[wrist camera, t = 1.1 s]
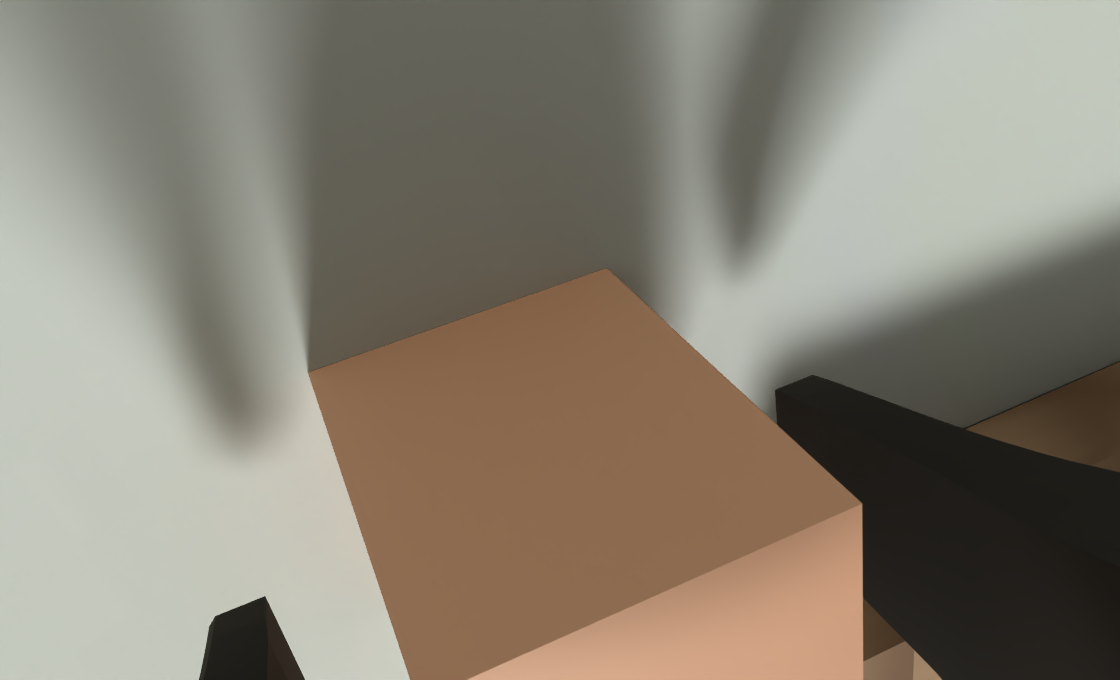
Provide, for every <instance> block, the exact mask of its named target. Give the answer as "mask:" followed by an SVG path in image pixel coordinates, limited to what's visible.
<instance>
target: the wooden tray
mask: <svg viewBox="0 0 1120 680" xmlns="http://www.w3.org/2000/svg"><path fill="white" fill-rule="evenodd" d="M966 430H968V431H971V432H975V433H978V434H981V435H984V436H987V437H990V438H993V439H996V440H999V441H1003V442H1006V443H1009V444H1013V445H1016V446H1020V447H1023V448H1026V449H1030V450H1033V451H1036V452H1040V453H1043V454H1047V455H1050V456H1054V457H1058V458H1062V459H1065V460H1069V461H1073V462H1077V463H1082V464H1086V465H1090V466H1095V467H1099V468H1103V469H1108V470H1112V471H1116V472H1120V362H1118V363H1116V364H1114V365H1111V366H1109V367H1107V368H1105V369H1102V370H1100V371H1098V372H1095V373H1093V374H1091V375H1088V376H1086V377H1084V378H1082V379H1079V380H1077V381H1075V382H1072V383H1070V384H1068V385H1065V386H1063V387H1061V388H1059V389H1056V390H1054V391H1052V392H1049V393H1047V394H1045V395H1043V396H1040V397H1038V398H1036V399H1033V400H1031V401H1029V402H1026V403H1024V404H1022V405H1020V406H1017V407H1015V408H1013V409H1010V410H1008V411H1006V412H1003V413H1001V414H999V415H997V416H994V417H992V418H990V419H987V420H985V421H983V422H980V423H978V424H976V425H974V426H971V427H969V428H967V429H966ZM863 680H942V679H941V678H940V677H939V675H938V674H937V673H936V672H935V671H934V670H933V669H932V668H931V667H930V666H929V665H928V664H927V663H926V662H925V661H924V660H923V659H922V658H921V657H920V656H919V655H918V654H917V653H916V652H915V650H914V649H913V648H912V647H911V646H910V645H909V644H908V643H907V642H906V641H905V640H904V639H903V638H902V637H901V636H900V635H899V634H898V633H897V632H896V631H895V630H894V629H893V628H892V627H891V626H890V625H889V624H888V623H887V622H886V621H885V620H884V619H883V618H882V617H881V616H880V615H879V614H878V613H877V612H876V611H875V610H874V609H873V608H872V607H871V605H870V604H869V603H868V602H867V601H866V600H865V599H864V598H863Z"/></svg>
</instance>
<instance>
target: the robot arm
mask: <svg viewBox="0 0 1120 680" xmlns="http://www.w3.org/2000/svg"><path fill="white" fill-rule="evenodd" d="M775 397H776V413H777V425H778V426H779V427H780V428H781V429H782V430H783V431H784V432H785V433H786V434H787V435H788V436H790V437H791V438H792V439H793V440H794V441H795V442H796V443H797V444H798V445H799V446H800V447H802V448H803V449H804V450H805V451H806V452H807V453H808V454H809V455H810V456H811V457H812V458H813V459H815V460H816V461H817V462H818V463H819V464H820V465H821V466H822V467H823V468H824V469H825V470H826V471H828V472H829V473H830V474H831V475H832V476H833V477H834V478H835V479H836V480H837V481H838V482H839V483H841V484H842V485H843V486H844V487H845V488H846V489H847V490H848V491H849V492H850V493H851V494H852V495H854V496H855V497H856V498H857V499H858V500H859V501H860V502H861V503H862V541H863V598H864V599H865V600H866V601H867V602H868V603H869V604H870V605H871V607H872V608H873V609H874V610H875V611H876V612H877V613H878V614H879V615H880V616H881V617H882V618H883V619H884V620H885V621H886V622H887V623H888V624H889V625H890V626H891V627H892V628H893V629H894V630H895V631H896V632H897V633H898V634H899V635H900V636H901V637H902V638H903V639H904V640H905V641H906V642H907V643H908V644H909V645H910V646H911V647H912V648H913V649H914V650H915V652H916V653H917V654H918V655H919V656H920V657H921V658H922V659H923V660H924V661H925V662H926V663H927V664H928V665H929V666H930V667H931V668H932V669H933V670H934V671H935V672H936V673H937V674H938V675H939V677H940V678H941V679H942V680H1120V472H1116V471H1112V470H1108V469H1103V468H1099V467H1095V466H1090V465H1086V464H1082V463H1077V462H1073V461H1069V460H1065V459H1062V458H1058V457H1054V456H1050V455H1047V454H1043V453H1040V452H1036V451H1033V450H1030V449H1026V448H1023V447H1020V446H1016V445H1013V444H1009V443H1006V442H1003V441H999V440H996V439H993V438H990V437H987V436H984V435H981V434H978V433H975V432H971V431H968V430H966V429H963V428H960V427H957V426H954V425H951V424H948V423H945V422H942V421H940V420H937V419H934V418H931V417H928V416H925V415H923V414H920V413H917V412H914V411H912V410H909V409H906V408H903V407H901V406H898V405H895V404H893V403H890V402H887V401H885V400H882V399H879V398H877V397H874V396H871V395H868V394H866V393H863V392H860V391H858V390H855V389H852V388H849V387H847V386H844V385H841V384H838V383H835V382H833V381H830V380H827V379H824V378H820V377H817V376H814V375H811V376H809V377H806V378H804V379H801V380H799V381H796V382H794V383H791V384H789V385H786V386H784V387H781V388H779V389H776V390H775ZM199 680H305V679H304V677H303V674H302V672H301V670H300V668H299V666H298V664H297V662H296V660H295V658H294V656H293V654H292V651H291V649H290V647H289V645H288V643H287V641H286V639H285V637H284V635H283V633H282V631H281V628H280V626H279V624H278V622H277V620H276V618H275V616H274V614H273V612H272V610H271V608H270V605H269V603H268V601H267V599H266V597H265V596H264V597H262V598H259V599H257V600H254V601H252V602H250V603H247V604H245V605H242V606H240V607H237V608H235V609H232V610H230V611H227V612H225V613H222V614H220V615H217V616H215V618H214V619H213V621H212V623H211V625H210V626H209V632H208V638H207V644H206V649H205V654H204V659H203V664H202V669H201V673H200V678H199Z"/></svg>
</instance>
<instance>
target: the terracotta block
mask: <svg viewBox="0 0 1120 680" xmlns="http://www.w3.org/2000/svg"><path fill="white" fill-rule="evenodd" d="M308 374H309V377H310V380H311V383H312V386H313V389H314V392H315V395H316V398H317V401H318V404H319V407H320V410H321V413H322V416H323V419H324V422H325V425H326V428H327V431H328V434H329V437H330V440H331V443H332V446H333V449H334V452H335V455H336V458H337V461H338V464H339V467H340V470H341V473H342V476H343V479H344V482H345V485H346V488H347V491H348V494H349V497H350V500H351V503H352V506H353V509H354V512H355V515H356V518H357V521H358V524H359V527H360V530H361V533H362V536H363V539H364V542H365V545H366V548H367V551H368V554H369V557H370V560H371V563H372V566H373V569H374V572H375V575H376V578H377V581H378V584H379V587H380V590H381V593H382V596H383V599H384V602H385V605H386V608H387V611H388V614H389V617H390V620H391V623H392V626H393V629H394V632H395V635H396V638H397V641H398V644H399V647H400V650H401V653H402V656H403V659H404V662H405V665H406V668H407V671H408V674H409V677H410V680H863V541H862V503H861V502H860V501H859V500H858V499H857V498H856V497H855V496H854V495H852V494H851V493H850V492H849V491H848V490H847V489H846V488H845V487H844V486H843V485H842V484H841V483H839V482H838V481H837V480H836V479H835V478H834V477H833V476H832V475H831V474H830V473H829V472H828V471H826V470H825V469H824V468H823V467H822V466H821V465H820V464H819V463H818V462H817V461H816V460H815V459H813V458H812V457H811V456H810V455H809V454H808V453H807V452H806V451H805V450H804V449H803V448H802V447H800V446H799V445H798V444H797V443H796V442H795V441H794V440H793V439H792V438H791V437H790V436H788V435H787V434H786V433H785V432H784V431H783V430H782V429H781V428H780V427H779V426H778V425H777V424H775V423H774V422H773V421H772V420H771V419H770V418H769V417H768V416H767V415H766V414H765V413H764V412H762V411H761V410H760V409H759V408H758V407H757V406H756V405H755V404H754V403H753V402H752V401H751V400H749V399H748V398H747V397H746V396H745V395H744V394H743V393H742V392H741V391H740V390H739V389H738V388H736V387H735V386H734V385H733V384H732V383H731V382H730V381H729V380H728V379H727V378H726V377H725V376H723V375H722V374H721V373H720V372H719V371H718V370H717V369H716V368H715V367H714V366H713V365H712V364H710V363H709V362H708V361H707V360H706V359H705V358H704V357H703V356H702V355H701V354H700V353H699V352H697V351H696V350H695V349H694V348H693V347H692V346H691V345H690V344H689V343H688V342H687V341H686V340H684V339H683V338H682V337H681V336H680V335H679V334H678V333H677V332H676V331H675V330H674V329H673V328H671V327H670V326H669V325H668V324H667V323H666V322H665V321H664V320H663V319H662V318H661V317H660V316H658V315H657V314H656V313H655V312H654V311H653V310H652V309H651V308H650V307H649V306H648V305H647V304H645V303H644V302H643V301H642V300H641V299H640V298H639V297H638V296H637V295H636V294H635V293H634V292H632V291H631V290H630V289H629V288H628V287H627V286H626V285H625V284H624V283H623V282H622V281H621V280H619V279H618V278H617V277H616V276H615V275H614V274H613V273H612V272H611V271H610V270H609V269H608V268H605V269H602V270H600V271H597V272H594V273H591V274H588V275H585V276H582V277H580V278H577V279H574V280H571V281H568V282H565V283H562V284H560V285H557V286H554V287H551V288H548V289H545V290H542V291H540V292H537V293H534V294H531V295H528V296H525V297H522V298H520V299H517V300H514V301H511V302H508V303H505V304H502V305H500V306H497V307H494V308H491V309H488V310H485V311H482V312H480V313H477V314H474V315H471V316H468V317H465V318H462V319H460V320H457V321H454V322H451V323H448V324H445V325H442V326H440V327H437V328H434V329H431V330H428V331H425V332H422V333H420V334H417V335H414V336H411V337H408V338H405V339H402V340H400V341H397V342H394V343H391V344H388V345H385V346H382V347H380V348H377V349H374V350H371V351H368V352H365V353H362V354H360V355H357V356H354V357H351V358H348V359H345V360H342V361H340V362H337V363H334V364H331V365H328V366H325V367H322V368H320V369H317V370H314V371H311V372H308Z"/></svg>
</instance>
